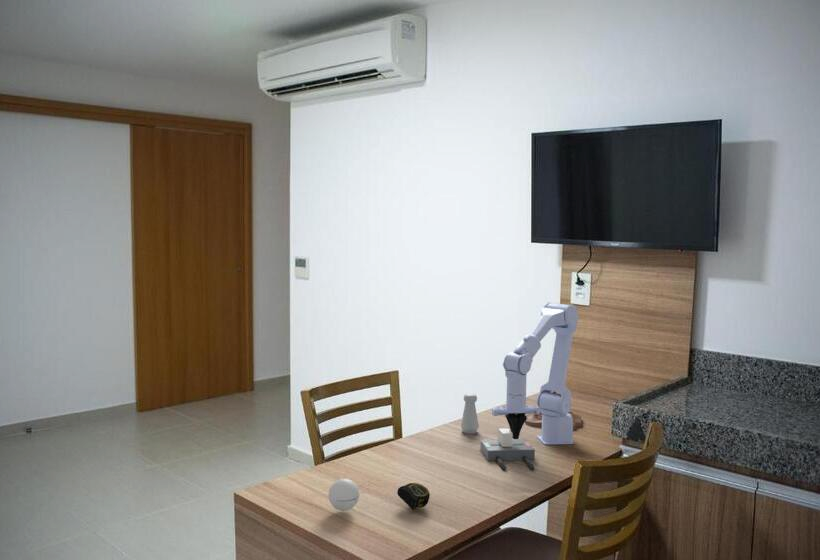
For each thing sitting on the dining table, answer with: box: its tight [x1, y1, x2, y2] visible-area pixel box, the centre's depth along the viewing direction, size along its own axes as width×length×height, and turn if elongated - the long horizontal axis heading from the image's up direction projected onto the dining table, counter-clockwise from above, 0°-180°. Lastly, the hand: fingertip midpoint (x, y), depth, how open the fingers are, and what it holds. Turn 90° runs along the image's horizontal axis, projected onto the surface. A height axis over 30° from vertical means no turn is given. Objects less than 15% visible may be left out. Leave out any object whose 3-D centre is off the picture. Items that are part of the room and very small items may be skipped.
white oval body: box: [328, 478, 370, 512], centre depth 160 cm, size 10×7×7 cm
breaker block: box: [480, 438, 536, 462], centre depth 202 cm, size 14×10×3 cm
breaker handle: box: [497, 427, 513, 447], centre depth 202 cm, size 3×5×4 cm, turn 6°
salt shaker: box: [460, 393, 480, 435], centre depth 223 cm, size 6×6×13 cm
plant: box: [524, 391, 582, 431], centre depth 237 cm, size 20×20×11 cm
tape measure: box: [397, 482, 431, 510], centre depth 164 cm, size 7×7×4 cm
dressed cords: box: [495, 456, 535, 471], centre depth 193 cm, size 9×9×1 cm
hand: (515, 438), depth 202 cm, fingers closed
